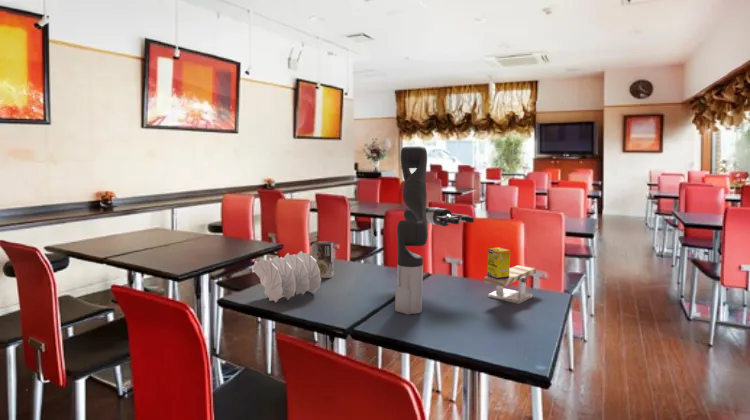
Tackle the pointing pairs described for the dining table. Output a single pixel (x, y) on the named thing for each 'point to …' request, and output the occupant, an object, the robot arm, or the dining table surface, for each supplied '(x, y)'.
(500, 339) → the dining table surface
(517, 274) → the beam
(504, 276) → the supplement box
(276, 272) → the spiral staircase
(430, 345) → the dining table surface
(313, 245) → the coffee box
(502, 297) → the beam stand
